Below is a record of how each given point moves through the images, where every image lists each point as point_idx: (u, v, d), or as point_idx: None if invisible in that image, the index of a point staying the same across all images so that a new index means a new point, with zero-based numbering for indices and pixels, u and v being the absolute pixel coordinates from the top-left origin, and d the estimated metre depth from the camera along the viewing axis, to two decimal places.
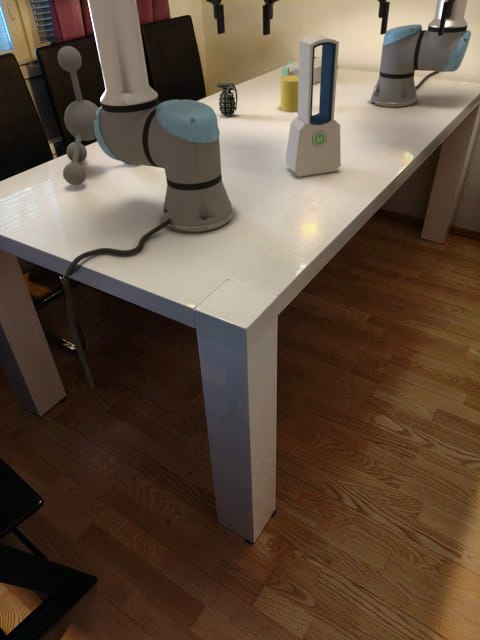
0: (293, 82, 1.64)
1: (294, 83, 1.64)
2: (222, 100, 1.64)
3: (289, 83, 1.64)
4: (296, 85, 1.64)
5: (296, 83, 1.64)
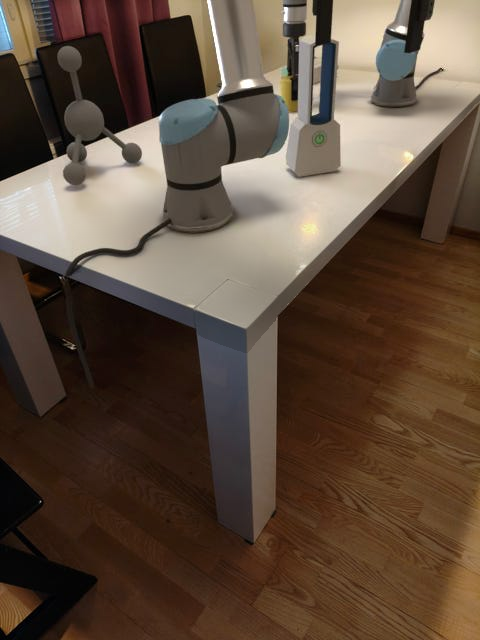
0: None
1: None
2: None
3: (289, 83, 1.64)
4: None
5: None
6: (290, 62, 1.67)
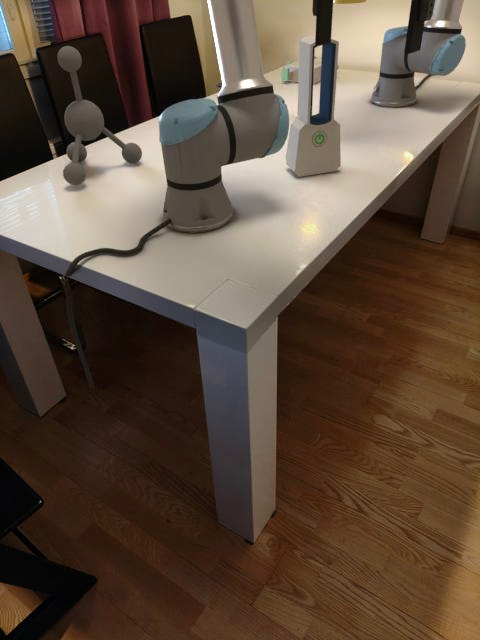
0: None
1: None
2: None
3: None
4: None
5: None
6: None
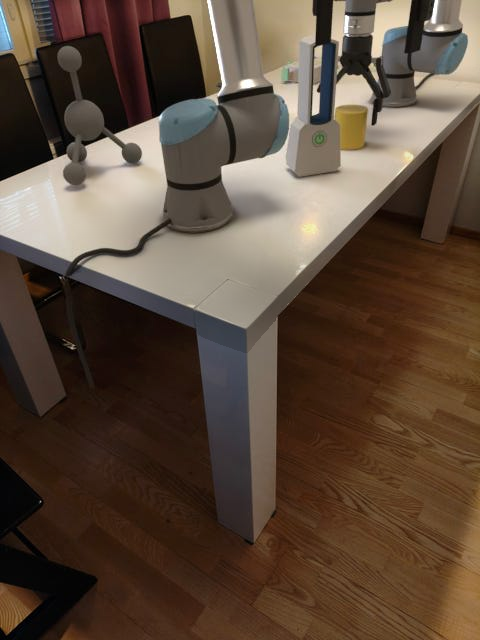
0: (366, 111, 1.32)
1: (366, 113, 1.32)
2: None
3: (363, 114, 1.32)
4: None
5: (367, 112, 1.33)
6: None
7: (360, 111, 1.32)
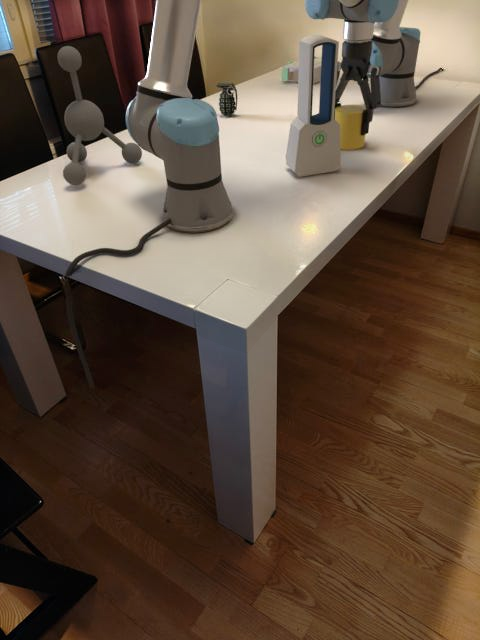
0: None
1: None
2: (222, 100, 1.64)
3: None
4: None
5: None
6: None
7: (360, 111, 1.32)
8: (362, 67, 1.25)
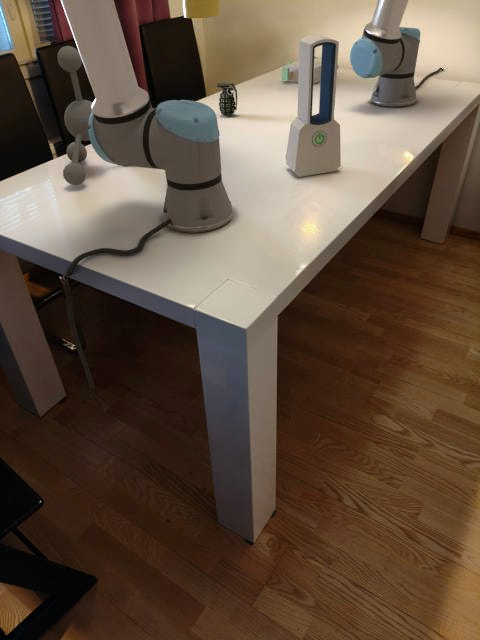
0: None
1: None
2: (222, 100, 1.64)
3: None
4: None
5: None
6: None
7: None
8: None
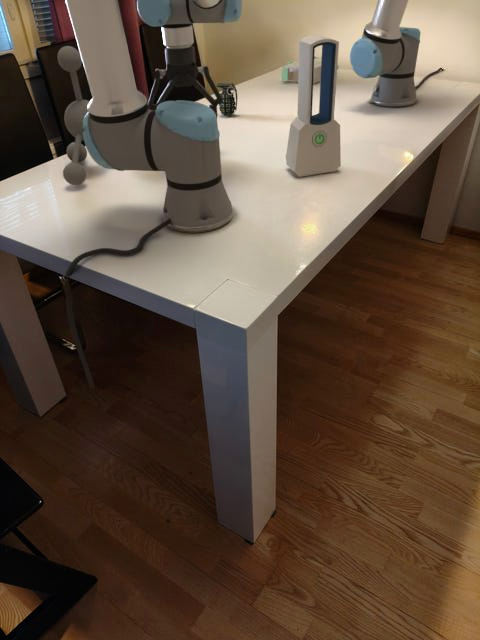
0: None
1: None
2: None
3: None
4: None
5: None
6: None
7: None
8: (193, 71, 1.25)
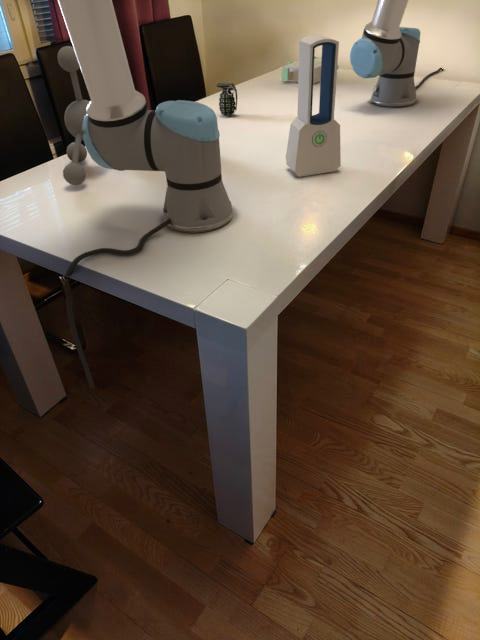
0: None
1: None
2: (222, 100, 1.64)
3: None
4: None
5: None
6: None
7: None
8: None
